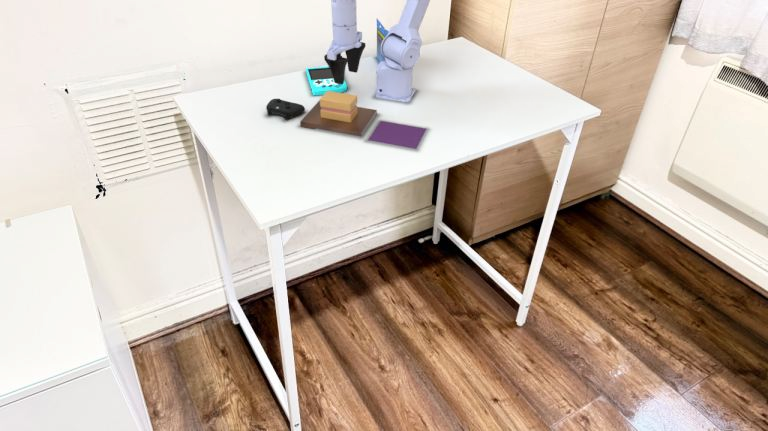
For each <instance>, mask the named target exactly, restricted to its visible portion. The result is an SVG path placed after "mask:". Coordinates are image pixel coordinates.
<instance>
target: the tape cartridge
mask: <svg viewBox="0 0 768 431" xmlns="http://www.w3.org/2000/svg"><path fill="white" fill-rule="evenodd" d="M388 32H389V29H386V28H385V27H384V25H383V24H382V22H381V21H380V20H379V18H376V58H377V60H378V62H380V61H385V56H383V54H382V53H381V43H382V41H383V39H384V38H385V37H386V36H387V34H388Z"/></svg>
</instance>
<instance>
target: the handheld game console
mask: <svg viewBox="0 0 768 431" xmlns="http://www.w3.org/2000/svg"><path fill="white" fill-rule="evenodd" d="M305 72H306V75H307V79H308V82H309V86H310V90H311V93H312V96H323V95H324V94H325V93H326V92H327V91H332V92H338V93H345V92H346V91H347V90H348V85H347V82H346V80H345V79H344V83H343V84H342V85H341V84H337V83H335V82H334V78H333V75H332V72H331V70H330V68H329V66H328V65H327V66H316V67H315V66H314V67H307V68H305Z"/></svg>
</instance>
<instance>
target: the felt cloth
mask: <svg viewBox="0 0 768 431" xmlns="http://www.w3.org/2000/svg"><path fill="white" fill-rule="evenodd" d="M426 131H427V128H426V127H420V126H415V125H408V124H401V123H395V122H389V121H385V120H380V121H379V122H378V124H377V126H376V127H375V128H374V130H373V131H372V133H371V134H370V136H369V138H368V139H367V141H369V142H375V143H381V144H385V145H391V146H398V147H402V148H409V149H415V150H417V148H418V146H419V144H420V142H421V141H422V139H423V137H424V134H425V133H426Z"/></svg>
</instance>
